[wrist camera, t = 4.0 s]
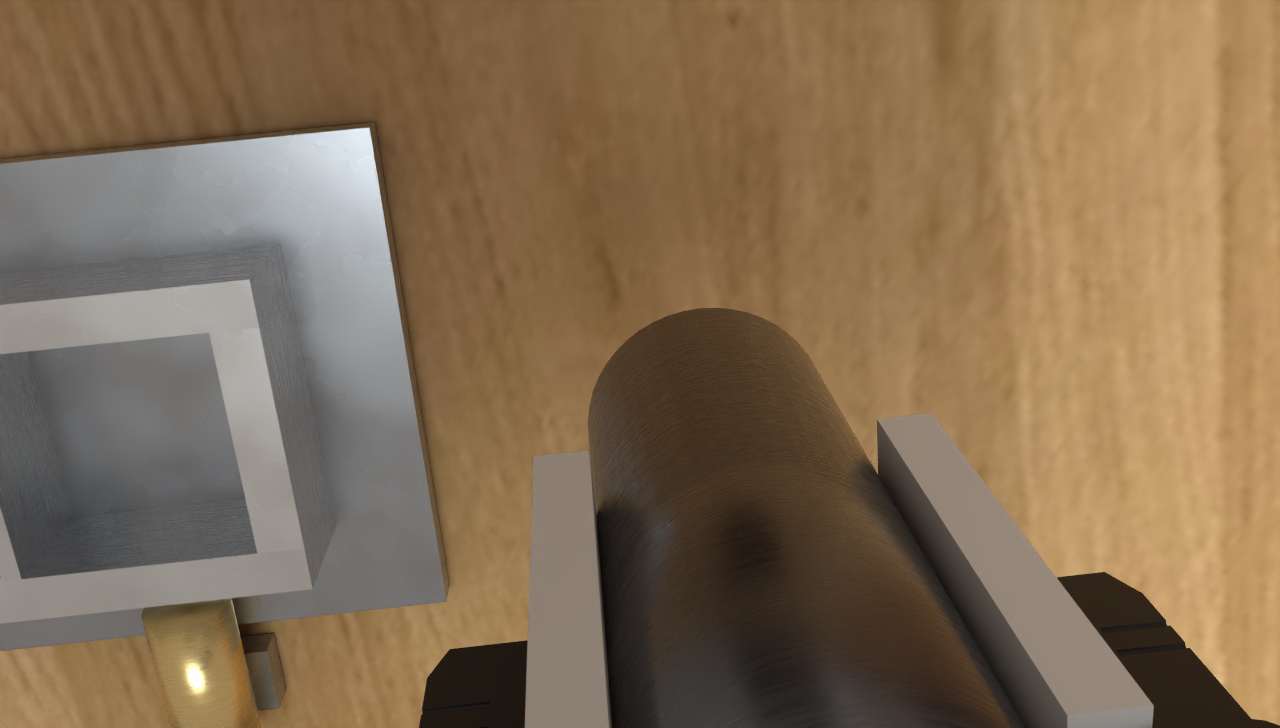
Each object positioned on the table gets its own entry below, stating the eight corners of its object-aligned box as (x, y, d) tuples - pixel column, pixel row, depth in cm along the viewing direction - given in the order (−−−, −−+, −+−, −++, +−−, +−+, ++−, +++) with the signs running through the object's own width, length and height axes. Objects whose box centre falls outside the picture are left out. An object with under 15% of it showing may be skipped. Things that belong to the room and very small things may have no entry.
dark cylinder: (575, 321, 20) (640, 1366, 5) (821, 295, 20) (1499, 1251, 6) (600, 541, 21) (701, 1818, 7) (829, 515, 21) (1387, 1719, 7)
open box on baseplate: (-162, 174, 32) (-272, 211, 28) (374, 121, 32) (347, 150, 28) (14, 733, 38) (-55, 834, 33) (464, 682, 38) (453, 775, 34)
